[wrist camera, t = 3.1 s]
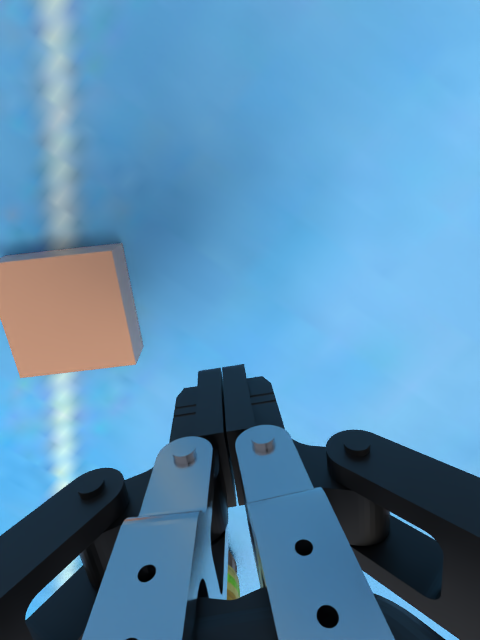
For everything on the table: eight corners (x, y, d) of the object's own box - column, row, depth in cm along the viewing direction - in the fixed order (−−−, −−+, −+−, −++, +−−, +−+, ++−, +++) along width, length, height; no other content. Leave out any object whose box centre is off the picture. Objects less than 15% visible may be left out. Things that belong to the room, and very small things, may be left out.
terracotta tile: (9, 254, 24) (-18, 264, 21) (123, 242, 24) (111, 250, 21) (41, 356, 26) (20, 378, 23) (144, 344, 26) (135, 364, 24)
